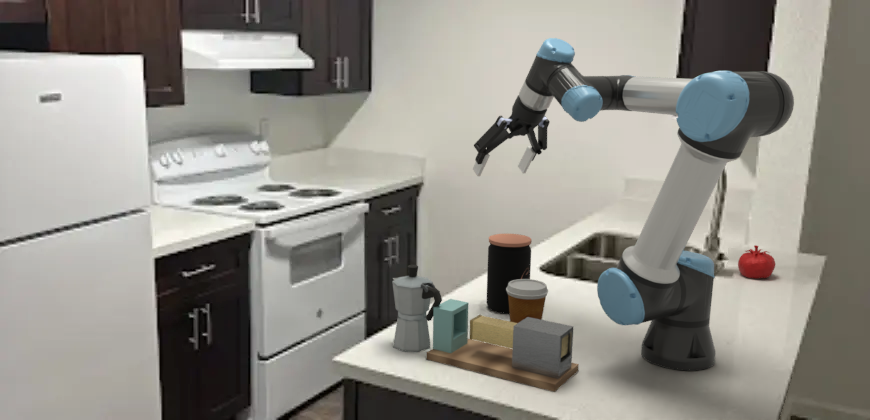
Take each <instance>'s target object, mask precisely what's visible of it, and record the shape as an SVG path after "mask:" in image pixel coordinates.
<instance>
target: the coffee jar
mask: <svg viewBox="0 0 870 420" xmlns="http://www.w3.org/2000/svg"><path fill="white" fill-rule="evenodd" d="M488 243H489V246H488V250H487V276H486V279H487V280H486V305H487V306H488V309H489V310H491V312H494V313H498V314H504V315H510V311H509V300H508V294H507V291H506V288H507V287H508V283H509V282H510V281H512V280H517V279H531V264H532V263H531V262H532V248H531V246H530V245H531V244H532V238H531V237H530V236H528V235H523V234H519V233H497V234H491V235H489V236H488Z"/></svg>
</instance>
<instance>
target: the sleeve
mask: <svg viewBox="0 0 870 420" xmlns="http://www.w3.org/2000/svg"><path fill="white" fill-rule="evenodd" d="M566 335H568V350H567V354H566V355H564V356H563V357H562V358H561V348H562V338H564V337H565V336H566ZM573 339H574V326H573V325H570V324H569V325H568V324H564V323H559V322H555V321H554V322H553V321H550V320H546V319H545V320H544V319H542V320H540V319H535V318H531V317H527V318H525V319H524V320H522V321H521V322H519V323H517V324H516V325H514V327H513V352H512V368H515V369H519V370H523V371H527V372H531V373H535V374H539V375H544V376H548V377H552V378H556V379H559V378H560V377H561V376H562V375H564V374H565V373H566V372H567V371H568V370H569V369H571V364H572V363H573V362H572V358H573V345H574V344H573V342H574V340H573Z"/></svg>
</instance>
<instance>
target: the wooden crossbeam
mask: <svg viewBox="0 0 870 420" xmlns="http://www.w3.org/2000/svg"><path fill="white" fill-rule="evenodd" d="M516 324H517V323H514V322H510V320H504V319H500V318H494V317H490V316H486V315H482V314H479V315H477V316H475V317H473V318H471V319H470V320H469V339H472V340H476V341H480V342H485V343H489V344H493V345H498V346H502V347H506V348H511V349H513V327H514V325H516ZM567 350H568V335H566V336H565V337H564V338H562V348H561V358H562V357H563V356H564V355H566V354H567Z"/></svg>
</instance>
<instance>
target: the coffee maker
mask: <svg viewBox="0 0 870 420" xmlns="http://www.w3.org/2000/svg"><path fill="white" fill-rule="evenodd" d="M406 267H407V271H408V272H407V273H408V275H405V276H399V277H392V279H393V280H392V290H393V298H394V304H395V305H394V307H395V310H396V311H397V320H396V325H395V333H394V339H393V343H392V347H393V348H394V349H397V350H399V351H400V352H405V353H406V352H407V353H408V352H409V353H415V352H416V353H419V352H423V351H425V350H428V349H429V350H430V348H431V337H430V330H429V322H430V321H432V320H433V308H434V307H437V306H439V305H440V304H441V303H442V301H443V297H442V295H441V291H440V290H439V289H438V288H436V285H435V284H434V282H433V281H432V280H431V279H429V278H428V277H424V276H418V275H417V274H418V270H419V266H418V265H416V264H409V265H407V266H406ZM432 299H434V302H433V304H432V305H431V300H432ZM430 305H431V306H430Z"/></svg>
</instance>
